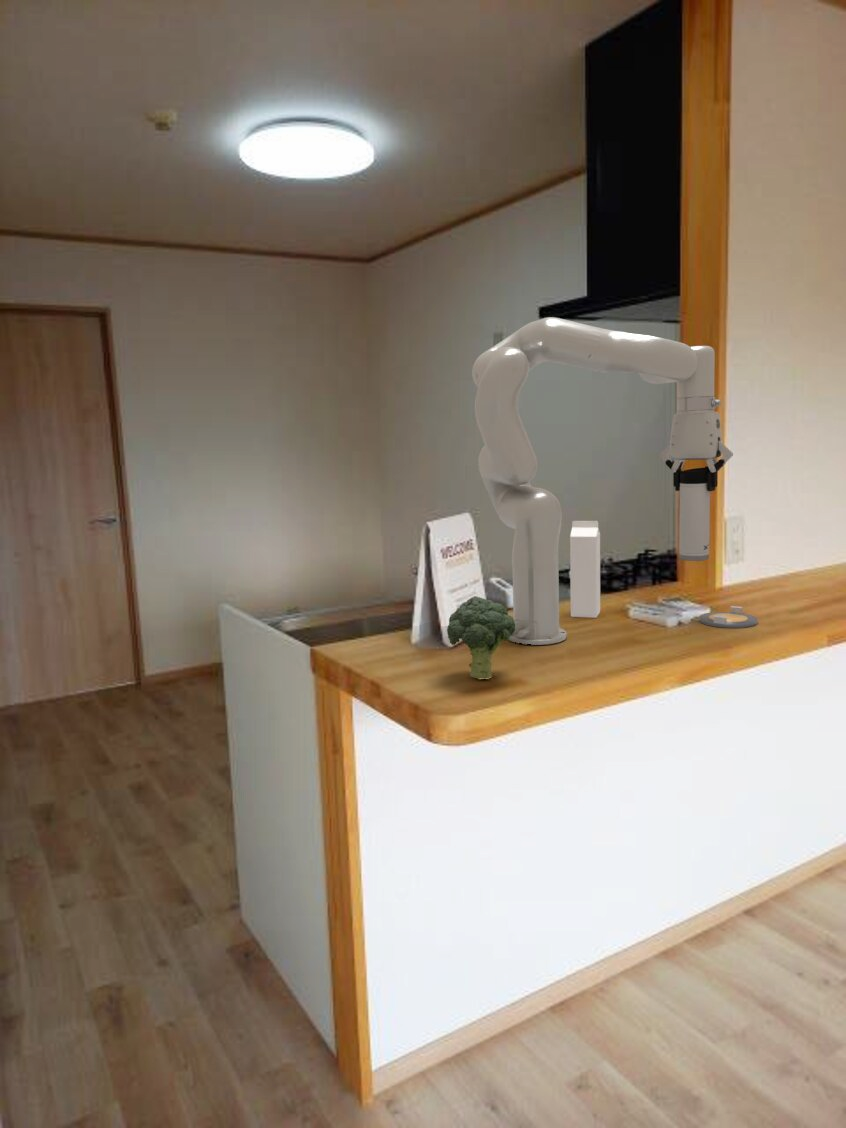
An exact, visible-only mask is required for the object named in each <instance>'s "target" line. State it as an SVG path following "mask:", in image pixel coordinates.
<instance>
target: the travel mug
mask: <svg viewBox="0 0 846 1128" xmlns="http://www.w3.org/2000/svg"><path fill="white" fill-rule="evenodd" d="M709 470H710V469H709V467H708V465H707V466H704V467H698V468H695V467H694V468H689V469H684V470H682V471H681V472H680V479H681V480H680V491H679V515H678V517H679V520H678V521H679V523H678V525H679V527H678V528H679V530H678V531H679V533H678V534H679V536H678V543H679V545H678V550H679V552H678V558H679V560H682V561H687V562H702V561H707V560H709V559H710V552H709V551H710V521H711V520H710V517H711V515H710V514H711V511H710V510H711V508H710V505H711V504H710V502H711V499H710V498H711V491H707V473H709Z"/></svg>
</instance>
